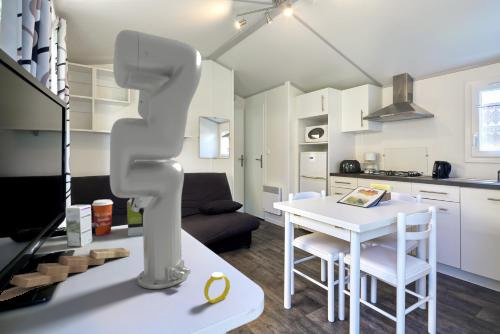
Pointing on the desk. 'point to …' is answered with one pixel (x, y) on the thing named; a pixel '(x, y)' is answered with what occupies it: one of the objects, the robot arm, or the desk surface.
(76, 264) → the tile
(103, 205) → the paper cup
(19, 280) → the tile
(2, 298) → the wooden domino block
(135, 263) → the desk surface
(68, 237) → the syrup box
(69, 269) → the tile
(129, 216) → the tea box
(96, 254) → the tile
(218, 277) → the gold ring
